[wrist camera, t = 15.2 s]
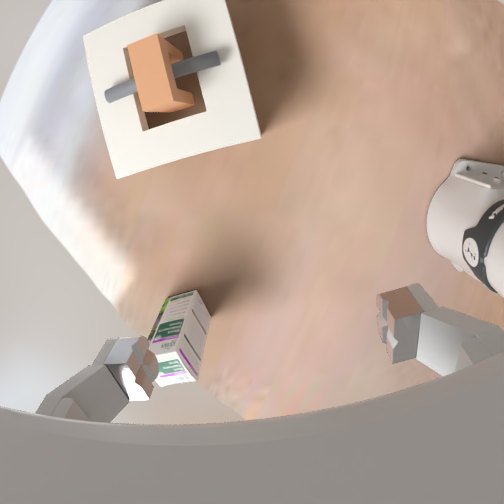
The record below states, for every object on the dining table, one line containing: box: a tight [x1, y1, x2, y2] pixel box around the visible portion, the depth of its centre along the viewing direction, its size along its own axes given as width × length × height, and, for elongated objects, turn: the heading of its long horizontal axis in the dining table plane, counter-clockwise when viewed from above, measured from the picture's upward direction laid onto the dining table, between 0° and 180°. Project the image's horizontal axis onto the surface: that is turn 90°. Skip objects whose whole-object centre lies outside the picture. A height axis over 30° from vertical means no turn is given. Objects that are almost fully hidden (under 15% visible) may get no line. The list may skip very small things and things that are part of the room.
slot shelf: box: [83, 0, 261, 179], centre depth 31 cm, size 16×18×12 cm
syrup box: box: [147, 290, 211, 387], centre depth 43 cm, size 6×6×14 cm
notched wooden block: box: [127, 33, 195, 113], centre depth 28 cm, size 3×7×10 cm, turn 13°
